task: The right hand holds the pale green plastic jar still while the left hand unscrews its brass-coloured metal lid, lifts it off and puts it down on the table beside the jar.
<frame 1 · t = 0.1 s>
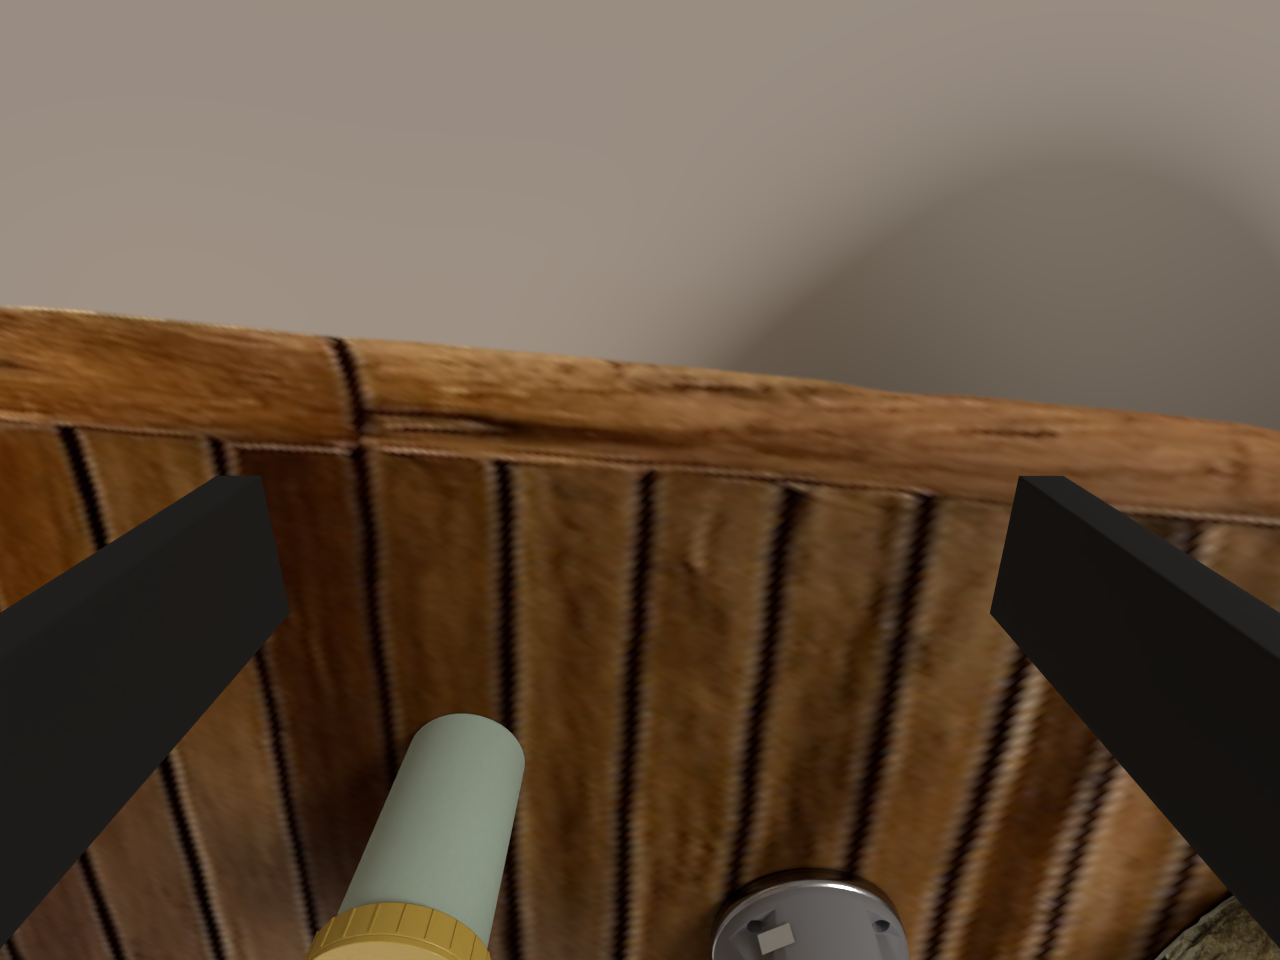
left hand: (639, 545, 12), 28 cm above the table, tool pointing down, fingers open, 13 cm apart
fossil: (1213, 941, 57), on the table
jar: (467, 759, 50), on the table
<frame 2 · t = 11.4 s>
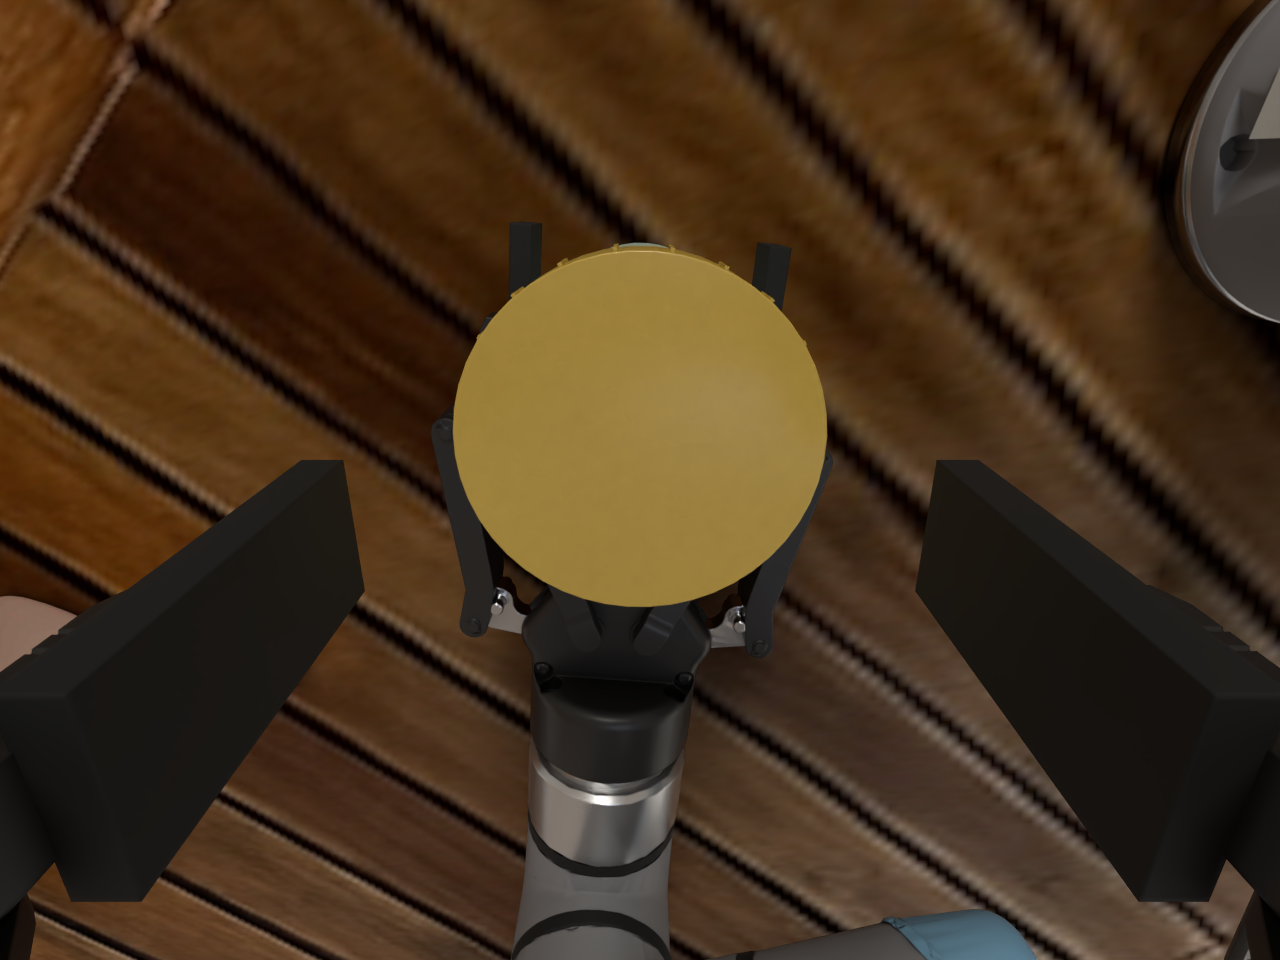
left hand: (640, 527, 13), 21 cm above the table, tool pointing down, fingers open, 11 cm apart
anatomical model: (72, 697, 41), on the table
lid: (640, 442, 18), point 16 cm above the table, screwed on, not yet turned
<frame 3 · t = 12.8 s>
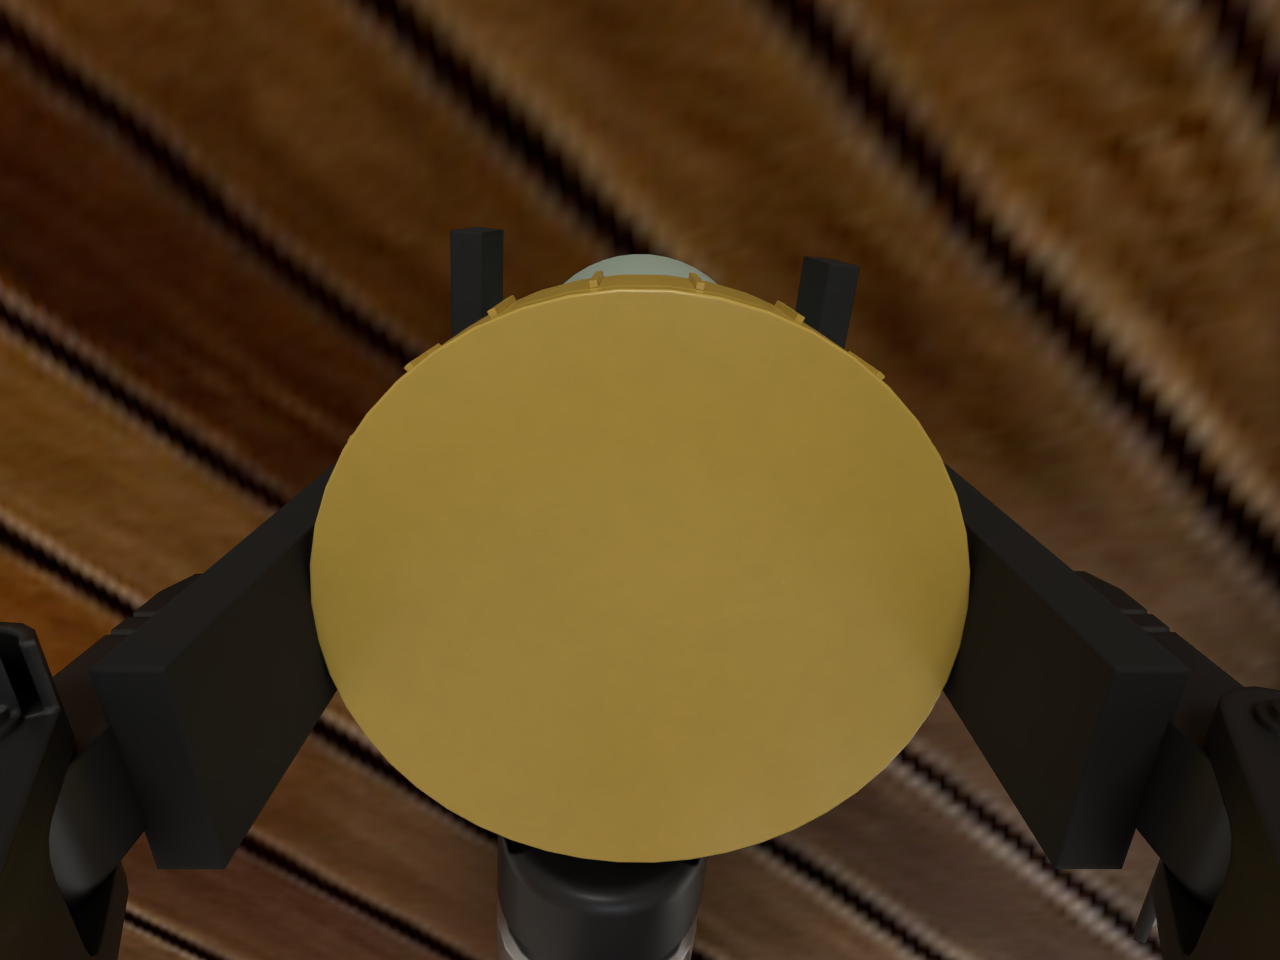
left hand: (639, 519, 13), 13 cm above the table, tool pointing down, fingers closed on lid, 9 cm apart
lid: (639, 612, 10), point 16 cm above the table, screwed on, not yet turned, touching left hand
jar: (640, 372, 25), on the table, touching right hand
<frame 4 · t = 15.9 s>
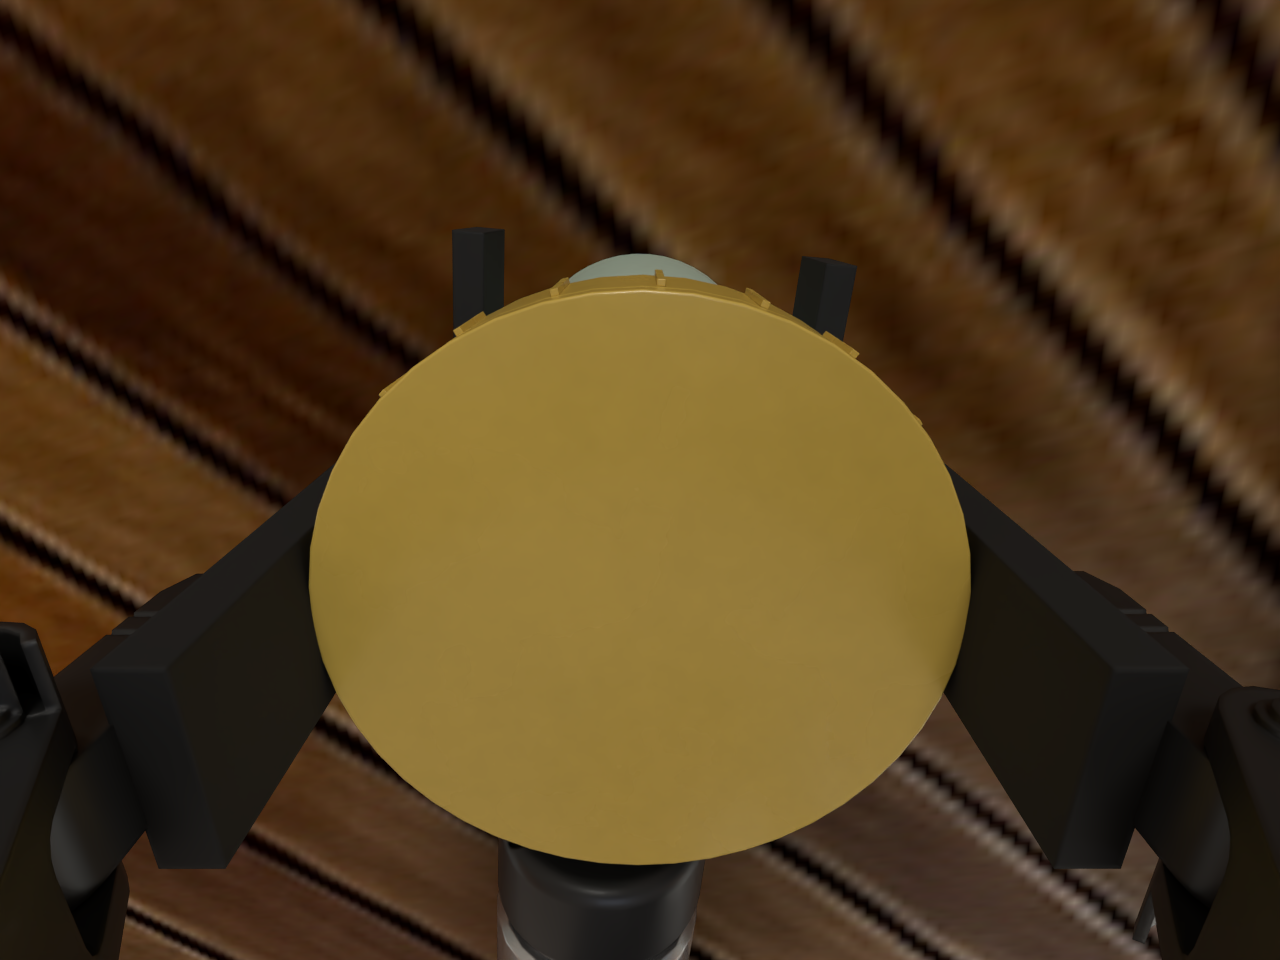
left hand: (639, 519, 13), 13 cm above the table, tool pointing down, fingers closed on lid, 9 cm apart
lid: (639, 614, 10), point 16 cm above the table, turned 72° so far, risen 0.2 cm, still on its thread, touching left hand
jar: (639, 371, 26), on the table, touching right hand
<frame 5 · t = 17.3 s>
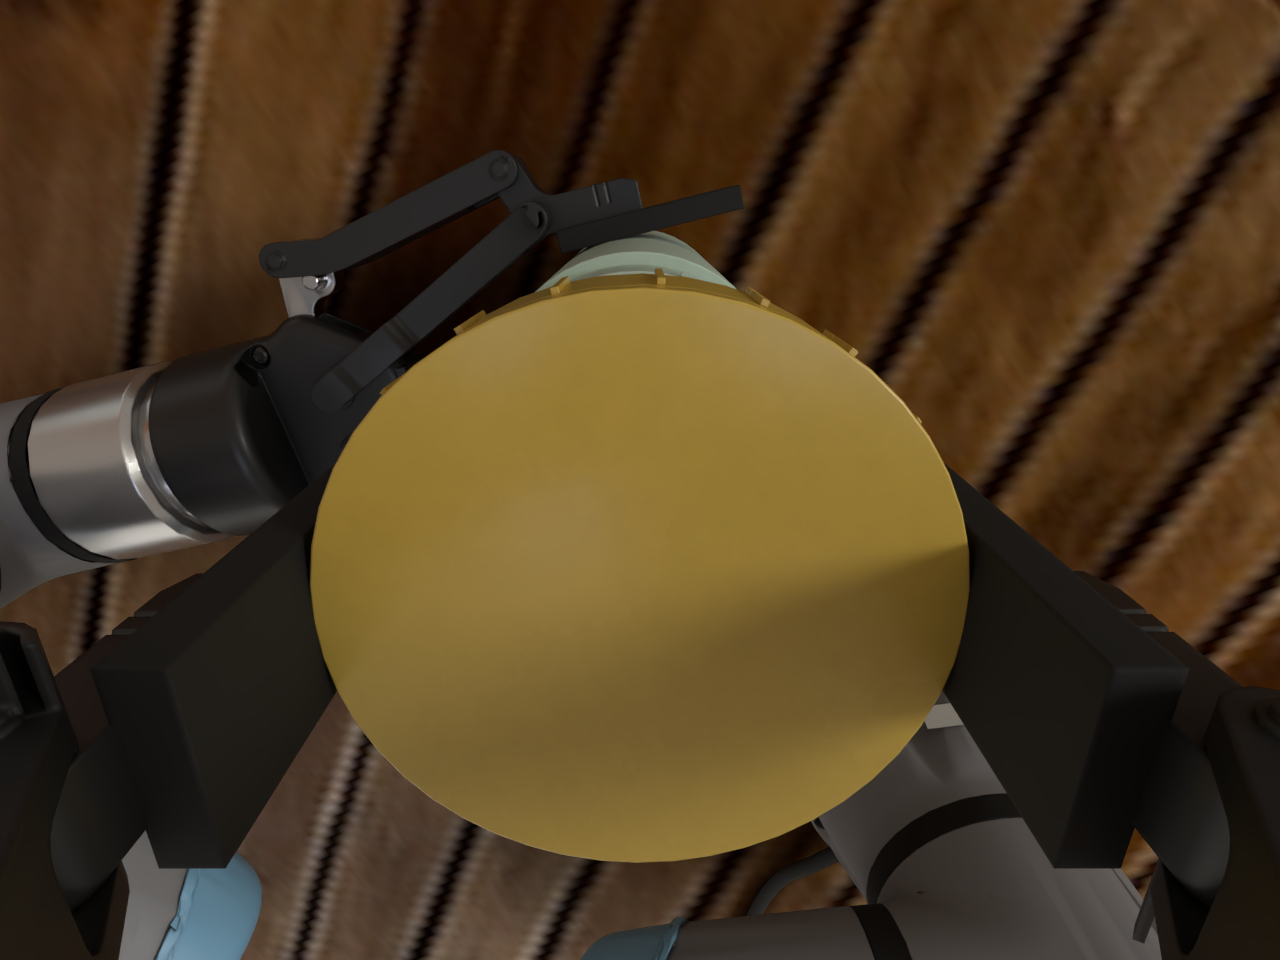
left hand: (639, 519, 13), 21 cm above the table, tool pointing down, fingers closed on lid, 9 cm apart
right hand: (757, 320, 27), fingers closed on jar, 8 cm apart
lid: (639, 611, 10), point 25 cm above the table, off its thread, touching left hand
jar: (637, 321, 33), on the table, touching right hand
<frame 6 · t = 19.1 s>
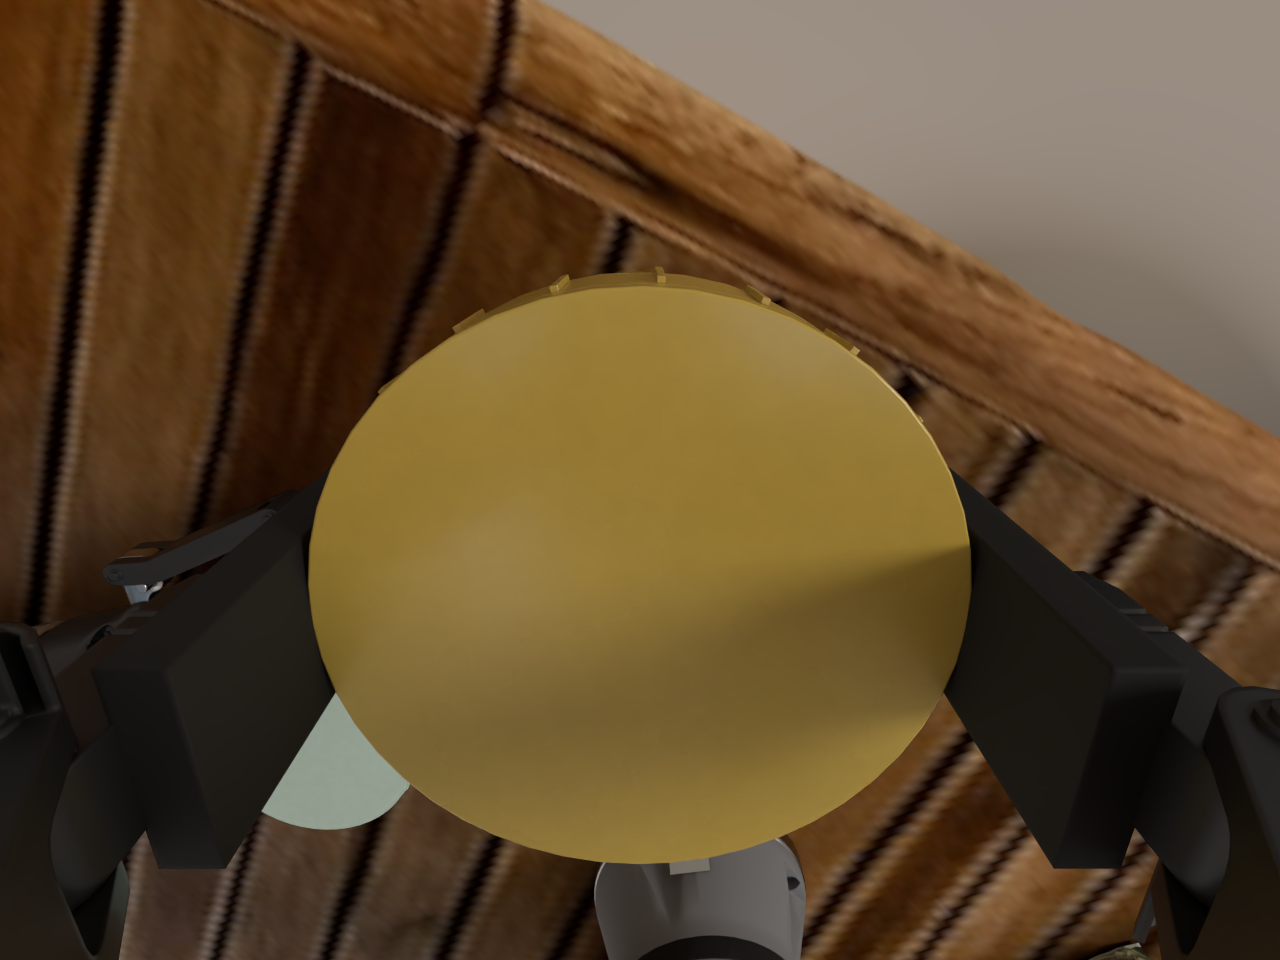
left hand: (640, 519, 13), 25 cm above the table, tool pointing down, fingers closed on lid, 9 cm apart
lid: (639, 612, 10), point 29 cm above the table, off its thread, touching left hand
jar: (428, 563, 42), on the table, touching right hand
when the left hand's fingers open (0 cm above the table, at t = 22.5 s): lid drops 2 cm, point 2 cm above the table.
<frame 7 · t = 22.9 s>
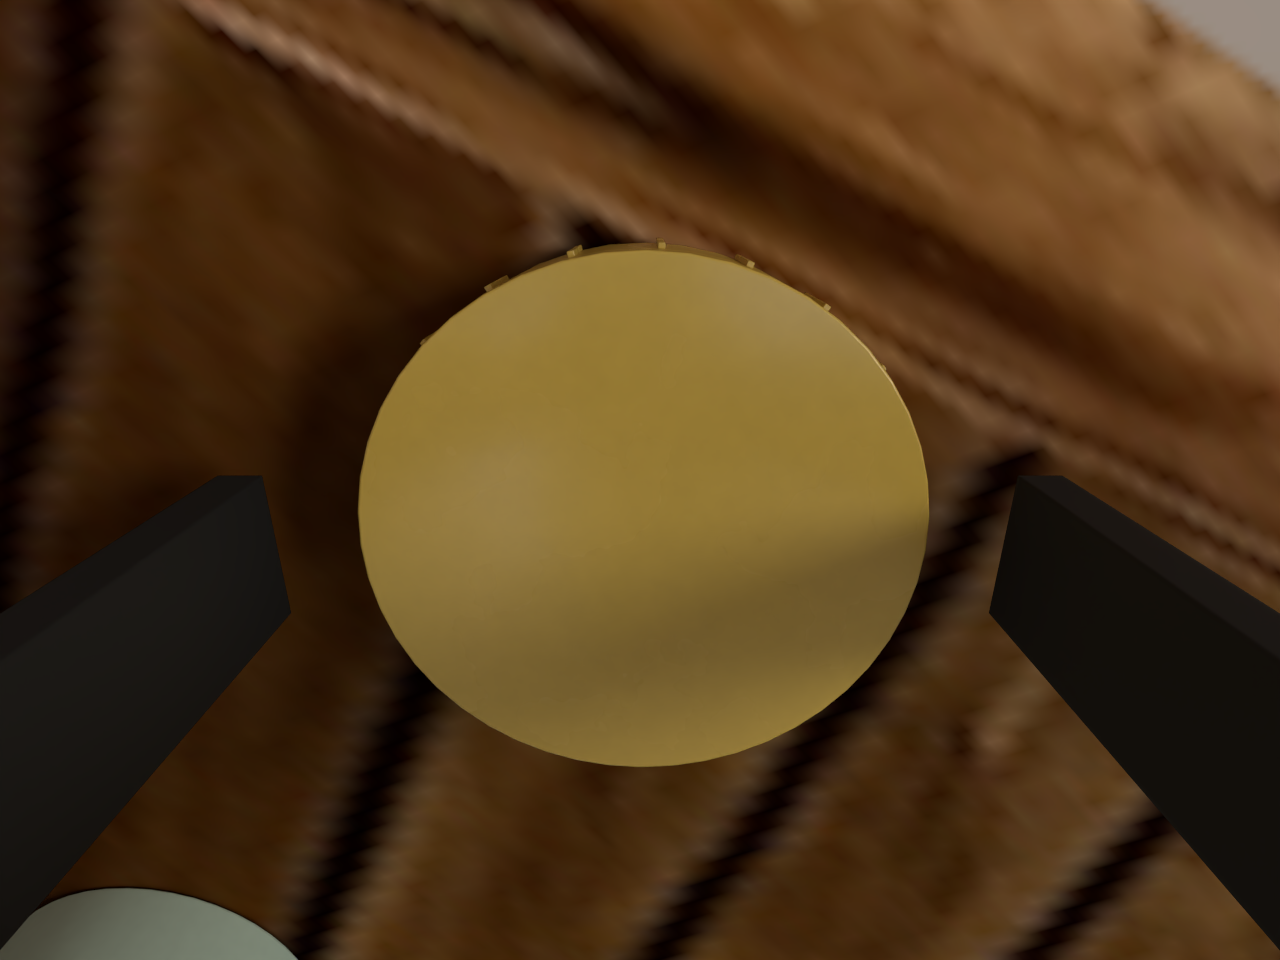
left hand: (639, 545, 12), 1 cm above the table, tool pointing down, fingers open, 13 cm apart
lid: (643, 538, 12), point 2 cm above the table, off its thread
when the right hand's fingers open (6 cm above the table, at t = 23.5 s): jar stays where it is, on the table.
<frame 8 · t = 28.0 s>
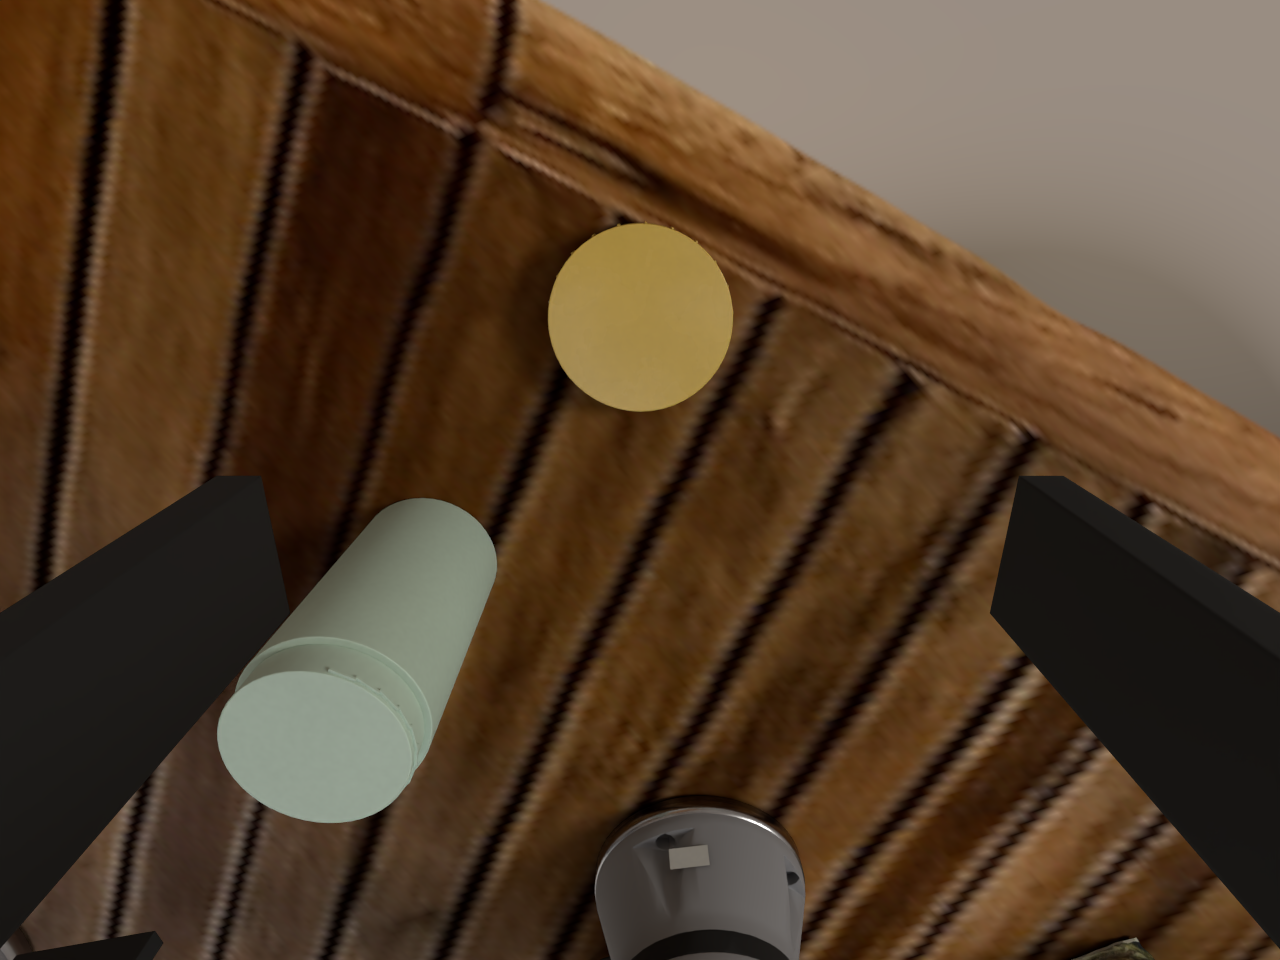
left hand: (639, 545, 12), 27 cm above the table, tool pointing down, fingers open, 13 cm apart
lid: (640, 321, 36), point 2 cm above the table, off its thread
jar: (429, 559, 43), on the table
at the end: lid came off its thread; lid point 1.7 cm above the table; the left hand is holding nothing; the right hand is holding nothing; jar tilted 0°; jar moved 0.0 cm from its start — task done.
